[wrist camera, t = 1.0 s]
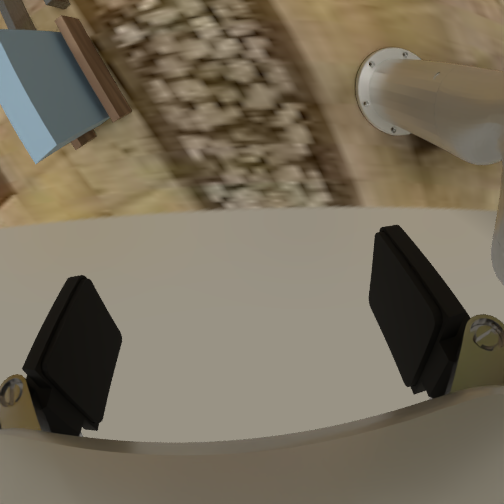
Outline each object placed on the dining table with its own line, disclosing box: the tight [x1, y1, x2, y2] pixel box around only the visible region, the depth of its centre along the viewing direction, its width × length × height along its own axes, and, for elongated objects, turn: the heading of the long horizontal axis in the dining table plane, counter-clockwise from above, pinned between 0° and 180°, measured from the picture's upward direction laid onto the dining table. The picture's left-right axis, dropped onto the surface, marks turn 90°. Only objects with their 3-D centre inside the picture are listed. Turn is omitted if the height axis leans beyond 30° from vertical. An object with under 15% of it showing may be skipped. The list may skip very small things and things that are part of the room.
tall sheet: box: [0, 29, 110, 164], centre depth 24 cm, size 3×14×16 cm, turn 26°
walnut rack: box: [55, 15, 132, 150], centre depth 29 cm, size 7×16×5 cm, turn 26°
